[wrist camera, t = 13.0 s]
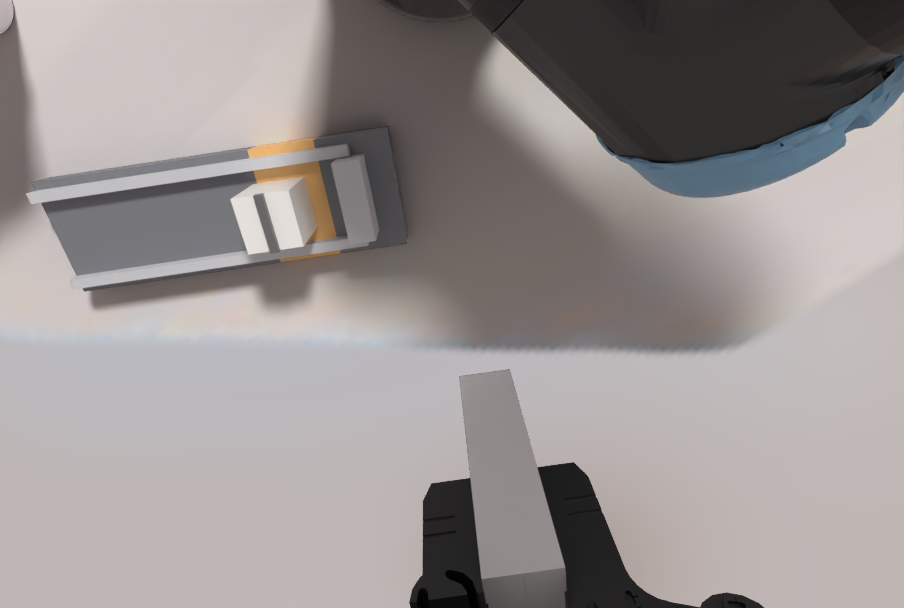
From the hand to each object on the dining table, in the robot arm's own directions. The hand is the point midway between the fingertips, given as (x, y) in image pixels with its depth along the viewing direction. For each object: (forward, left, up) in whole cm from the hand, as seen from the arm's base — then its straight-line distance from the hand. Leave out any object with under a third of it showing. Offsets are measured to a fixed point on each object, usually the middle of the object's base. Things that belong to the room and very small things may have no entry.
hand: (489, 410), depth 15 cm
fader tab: (-2, -13, -27) cm, 30 cm away
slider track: (-2, -17, -29) cm, 34 cm away
